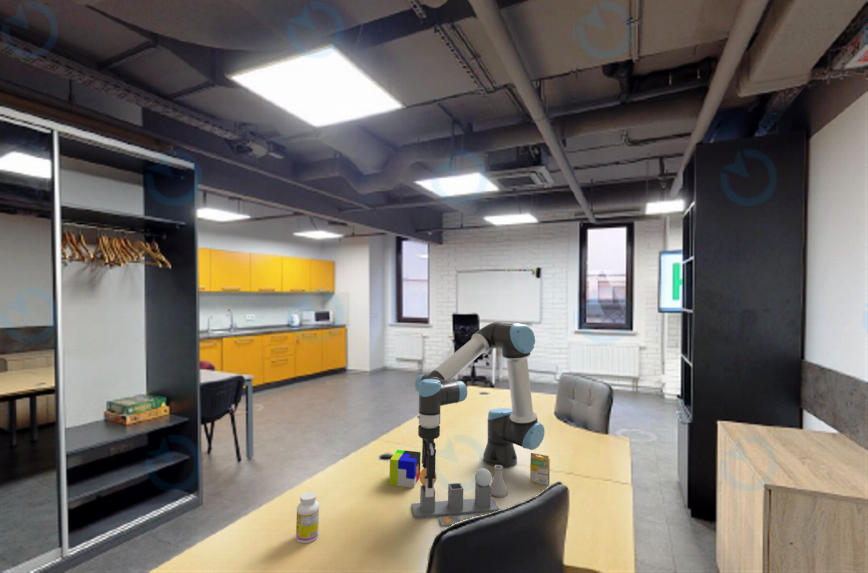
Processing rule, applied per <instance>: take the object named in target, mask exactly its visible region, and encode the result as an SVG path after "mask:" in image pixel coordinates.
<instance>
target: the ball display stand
mask: <svg viewBox="0 0 868 573" xmlns="http://www.w3.org/2000/svg"><path fill="white" fill-rule="evenodd" d="M447 484H448V486H447V487H448V488H447V490H448V491H447V500H441V501H436V489H435V488H434V497H425V488H426V486H424V485H423V486H422V485H420V491H419V492H420V495H419V496H420V497H419V498H420V499H419V500H420V501H419V502H417V503H415V502H414V503H411V509H412V514H413V518H414V520H419V519H431V518H432V519H433V518H439V517H450V516H462V515H474V514H479V515H480V514H489V513H490V514H491V512H492V513H495V512H494V511H498V510H500V511H501V509H500V507H499V506H498V504H497V502H496V500H494V497H491V496H492V495H491V484H489V485H488V486H486V487H482V486H479V485H478V484H477V483H476V481H475V484H474V485H475V487H474V498H467V499H464V487H463V485H462V483H461V482H453V483H447Z"/></svg>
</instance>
